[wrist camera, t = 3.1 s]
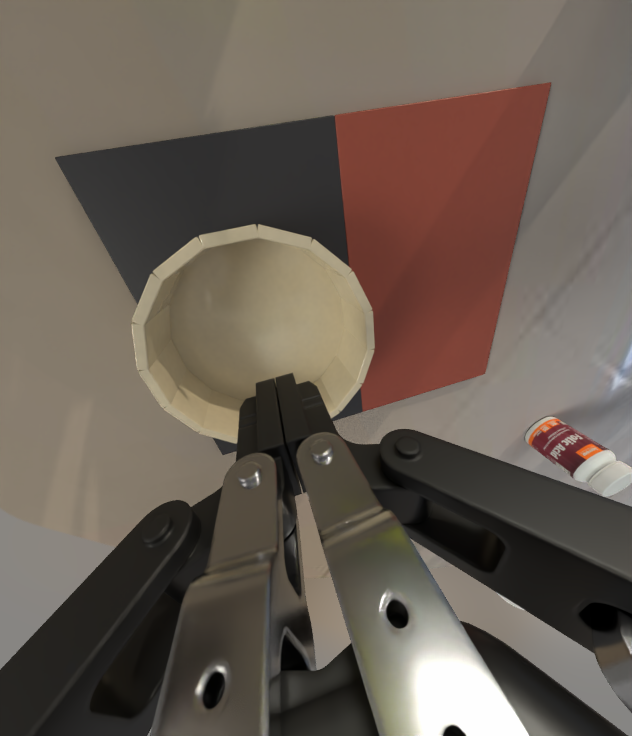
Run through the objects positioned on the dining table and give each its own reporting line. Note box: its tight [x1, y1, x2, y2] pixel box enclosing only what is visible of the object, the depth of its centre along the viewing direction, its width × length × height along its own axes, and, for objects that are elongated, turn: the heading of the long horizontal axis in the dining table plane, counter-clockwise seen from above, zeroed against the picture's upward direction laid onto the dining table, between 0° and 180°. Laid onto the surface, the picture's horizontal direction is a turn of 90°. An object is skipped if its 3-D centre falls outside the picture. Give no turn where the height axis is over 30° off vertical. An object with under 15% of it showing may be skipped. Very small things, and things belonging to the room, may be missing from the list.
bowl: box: [131, 224, 375, 444], centre depth 15 cm, size 12×12×4 cm
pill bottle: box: [525, 417, 632, 497], centre depth 29 cm, size 5×5×8 cm
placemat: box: [55, 83, 551, 455], centre depth 17 cm, size 26×20×1 cm
